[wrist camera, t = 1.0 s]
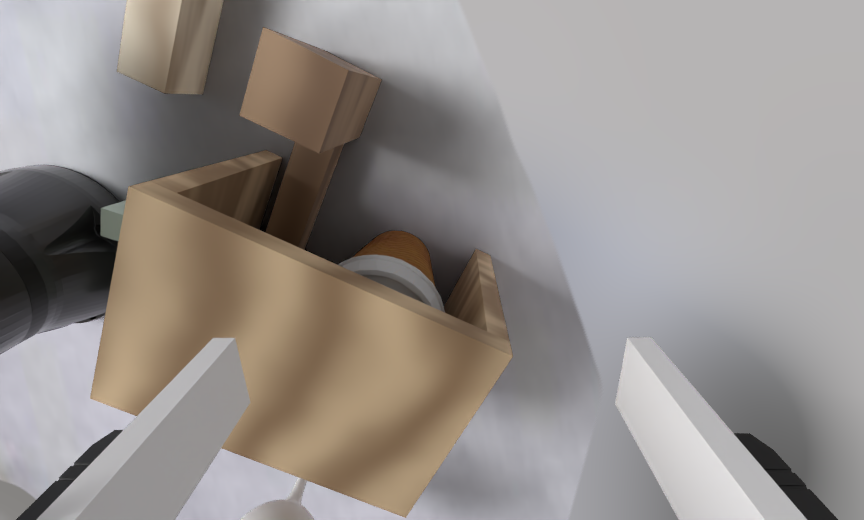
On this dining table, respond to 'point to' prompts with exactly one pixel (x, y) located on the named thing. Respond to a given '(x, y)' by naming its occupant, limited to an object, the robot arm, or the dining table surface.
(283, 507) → the wineglass
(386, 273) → the disposable coffee cup
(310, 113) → the crook
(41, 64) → the dining table surface
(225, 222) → the wooden storage bin
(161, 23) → the beech stick
